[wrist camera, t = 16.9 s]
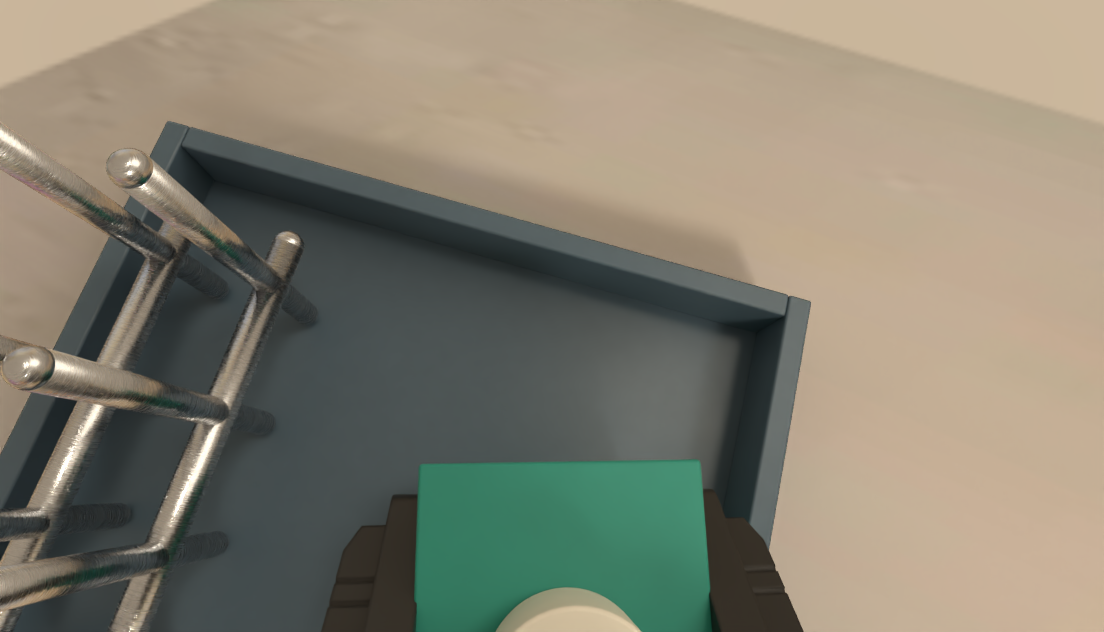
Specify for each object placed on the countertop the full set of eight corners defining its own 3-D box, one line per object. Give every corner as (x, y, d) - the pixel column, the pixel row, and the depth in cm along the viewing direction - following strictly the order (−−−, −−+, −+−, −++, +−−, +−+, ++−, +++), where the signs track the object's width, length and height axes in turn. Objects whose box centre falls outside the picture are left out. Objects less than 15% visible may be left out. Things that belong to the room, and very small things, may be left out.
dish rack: (339, 274, 17) (183, 85, 9) (98, 896, 14) (-552, 1548, 5) (229, 243, 17) (-28, 26, 9) (-43, 854, 14) (-913, 1438, 5)
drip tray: (771, 325, 19) (812, 300, 16) (616, 1157, 14) (640, 1311, 11) (213, 167, 19) (166, 118, 16) (-145, 932, 14) (-293, 1034, 11)
